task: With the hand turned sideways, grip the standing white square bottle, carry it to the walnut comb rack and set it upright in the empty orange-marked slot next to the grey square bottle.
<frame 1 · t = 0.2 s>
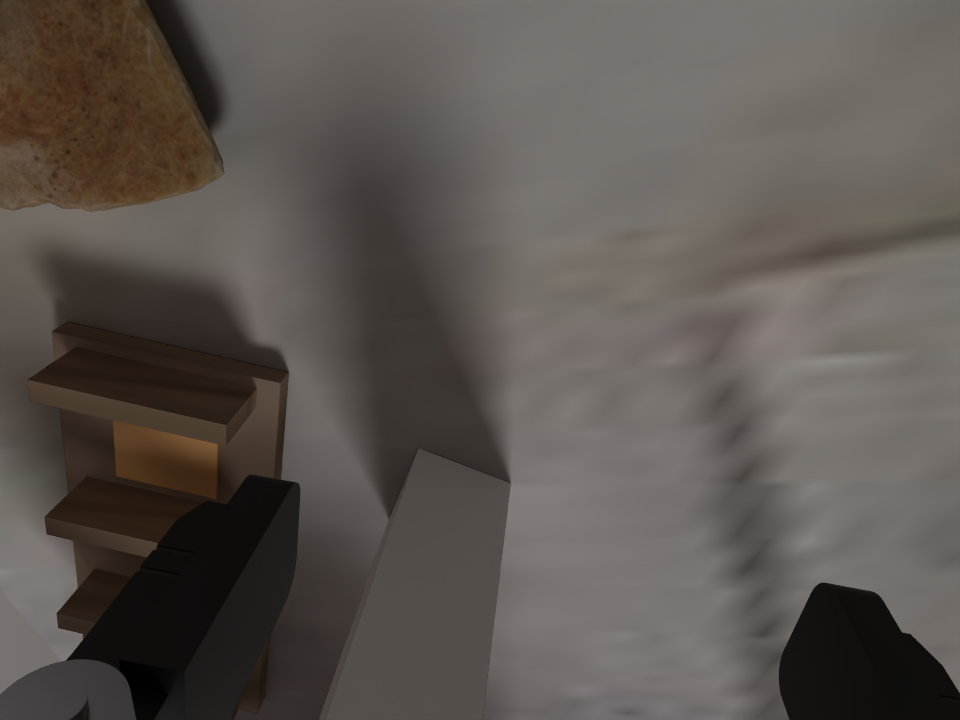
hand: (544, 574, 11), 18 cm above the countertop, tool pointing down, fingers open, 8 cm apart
white square bottle: (448, 501, 33), on the countertop
stone cup: (18, 17, 25), on the countertop
comb rack: (179, 536, 36), on the countertop
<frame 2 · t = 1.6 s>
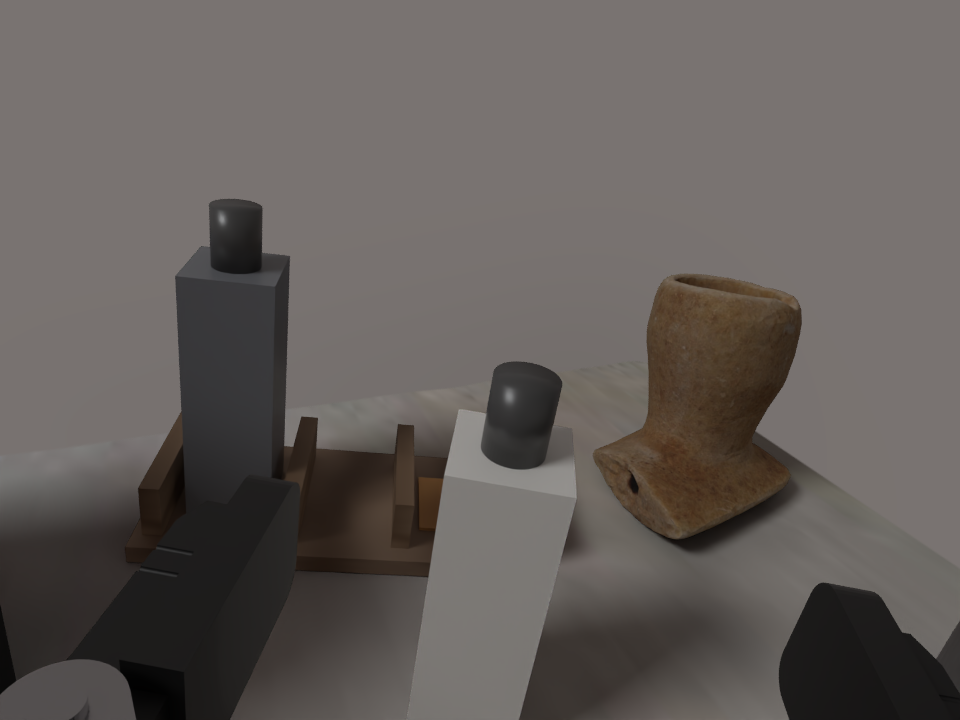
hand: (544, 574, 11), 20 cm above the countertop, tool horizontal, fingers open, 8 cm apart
grey square bottle: (237, 492, 41), point 1 cm above the countertop, touching comb rack
white square bottle: (460, 707, 32), on the countertop
stone cup: (674, 481, 51), on the countertop
comb rack: (349, 512, 42), on the countertop
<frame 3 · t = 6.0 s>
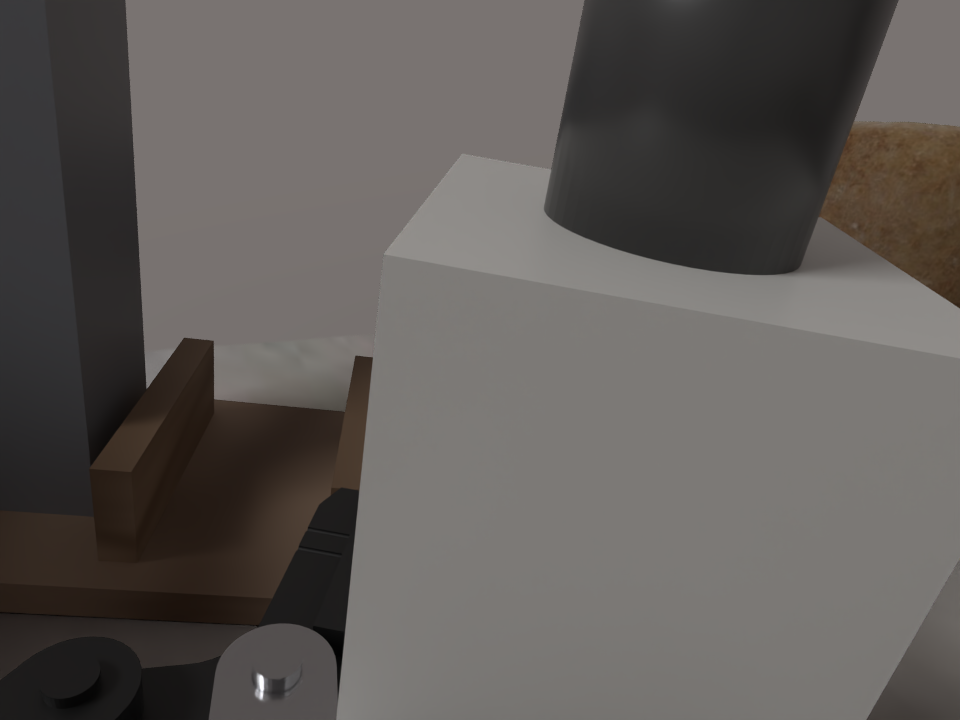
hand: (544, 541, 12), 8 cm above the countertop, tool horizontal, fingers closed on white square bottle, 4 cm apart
grey square bottle: (49, 465, 22), point 1 cm above the countertop, touching comb rack
stone cup: (803, 467, 32), on the countertop
comb rack: (260, 507, 23), on the countertop
when the fingers open (11 cm above the countertop, at t = 10.6 s): white square bottle drops 1 cm, resting on comb rack.
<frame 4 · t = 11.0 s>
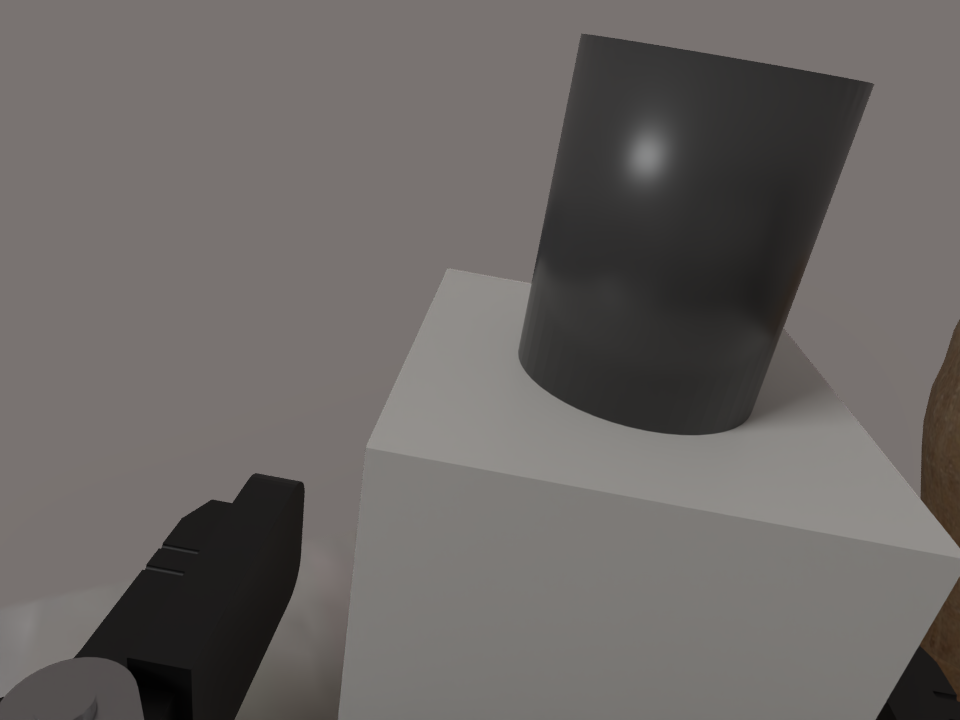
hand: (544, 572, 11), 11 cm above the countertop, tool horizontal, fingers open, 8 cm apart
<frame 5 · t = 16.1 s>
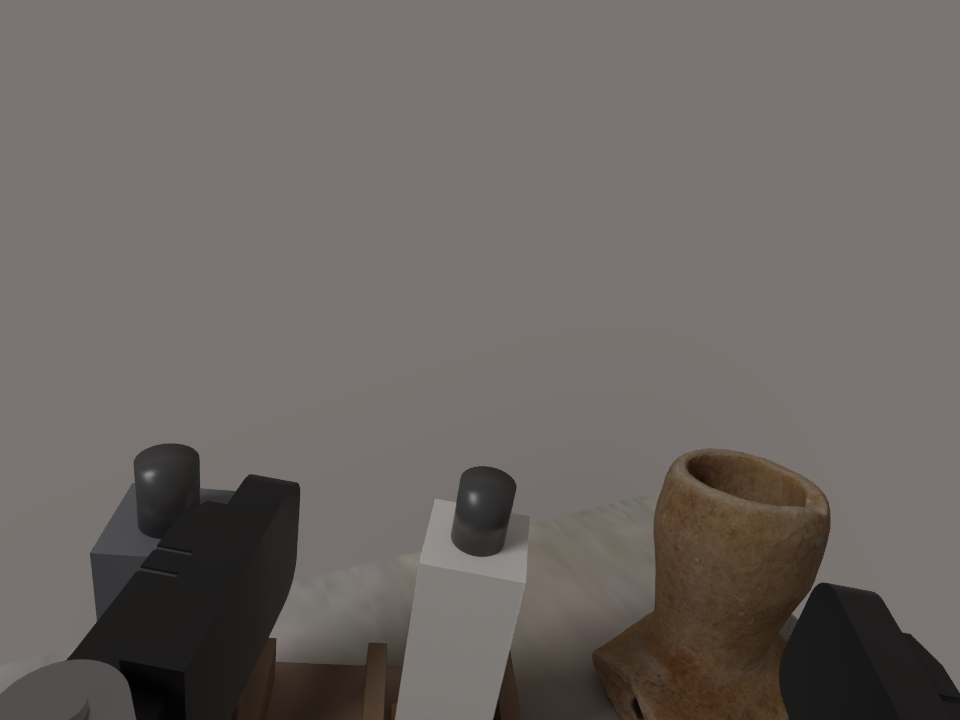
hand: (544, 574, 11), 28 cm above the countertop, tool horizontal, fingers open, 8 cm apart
stone cup: (683, 680, 45), on the countertop
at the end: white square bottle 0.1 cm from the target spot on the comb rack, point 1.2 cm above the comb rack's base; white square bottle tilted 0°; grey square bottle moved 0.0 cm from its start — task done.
